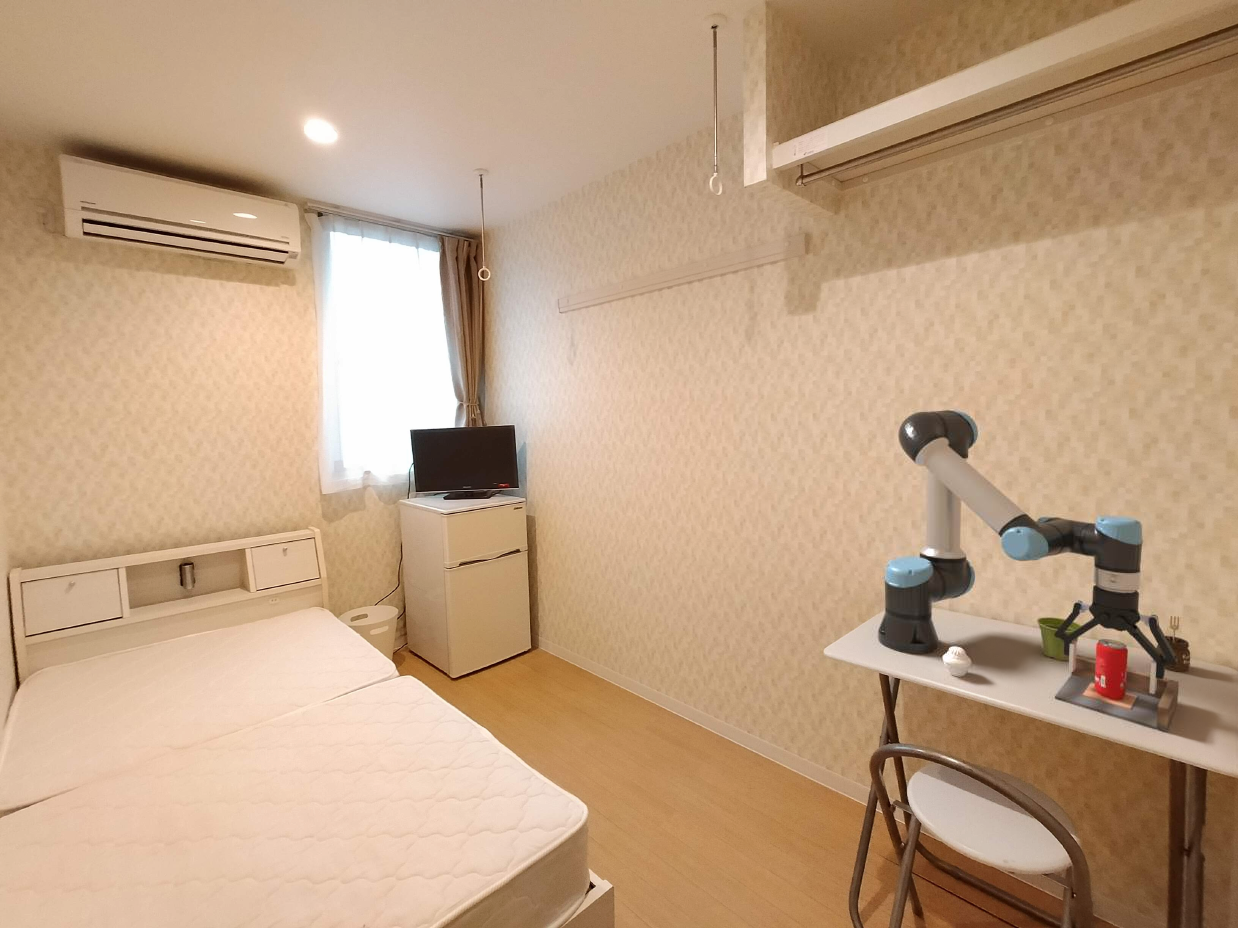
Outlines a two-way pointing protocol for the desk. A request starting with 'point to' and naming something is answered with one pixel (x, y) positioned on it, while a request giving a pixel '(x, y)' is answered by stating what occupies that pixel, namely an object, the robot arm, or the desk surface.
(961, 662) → the muffin
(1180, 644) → the utensil holder
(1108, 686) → the beverage can
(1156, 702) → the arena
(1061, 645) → the plant pot
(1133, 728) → the desk surface
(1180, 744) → the desk surface
